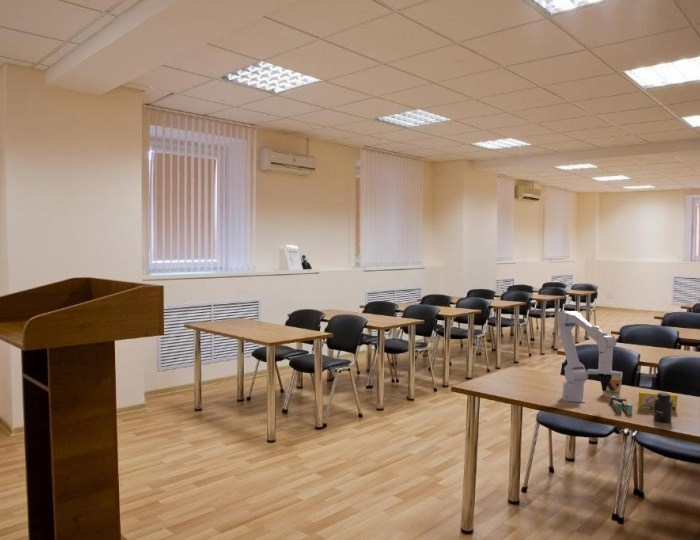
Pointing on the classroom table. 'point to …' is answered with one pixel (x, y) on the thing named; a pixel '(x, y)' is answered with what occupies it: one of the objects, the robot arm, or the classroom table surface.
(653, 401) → the candy box
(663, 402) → the supplement bottle
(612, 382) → the coffee cup
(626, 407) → the tongs base
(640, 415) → the classroom table surface
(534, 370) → the classroom table surface
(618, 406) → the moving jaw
